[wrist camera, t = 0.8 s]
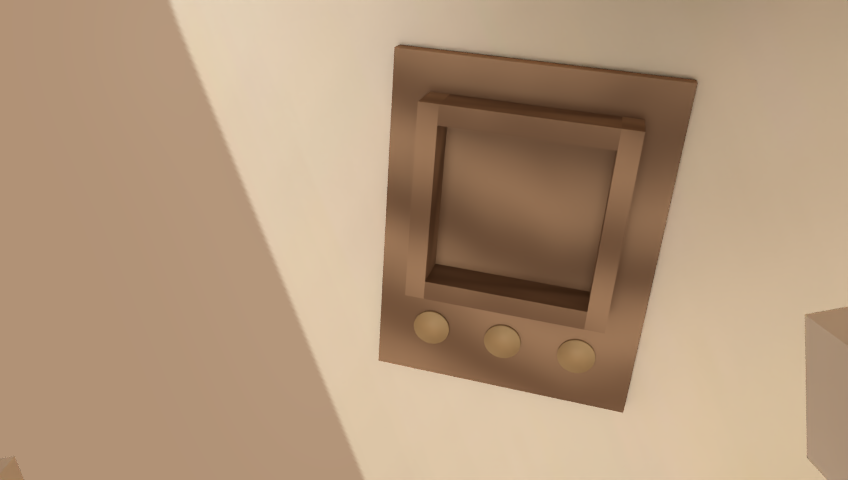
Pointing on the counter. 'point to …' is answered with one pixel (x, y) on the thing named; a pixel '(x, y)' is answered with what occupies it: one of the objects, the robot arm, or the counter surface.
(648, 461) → the counter surface
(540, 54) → the counter surface
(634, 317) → the walnut holder
